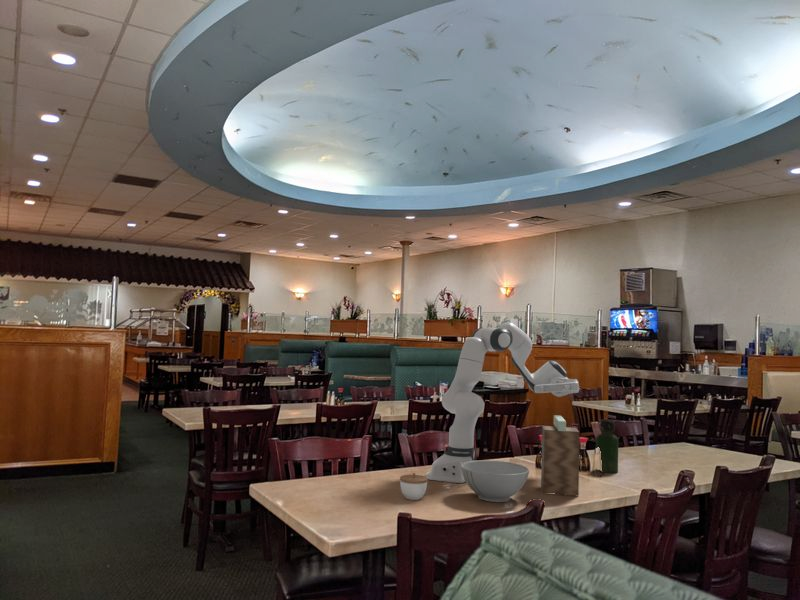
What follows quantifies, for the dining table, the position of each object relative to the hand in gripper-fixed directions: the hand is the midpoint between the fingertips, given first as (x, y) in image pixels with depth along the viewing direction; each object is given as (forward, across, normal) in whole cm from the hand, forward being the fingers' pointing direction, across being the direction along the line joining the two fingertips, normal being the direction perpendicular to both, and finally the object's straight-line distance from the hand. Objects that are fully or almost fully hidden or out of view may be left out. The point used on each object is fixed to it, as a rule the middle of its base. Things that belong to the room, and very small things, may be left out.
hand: (553, 388), depth 276 cm
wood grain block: (+17, +1, +42) cm, 45 cm away
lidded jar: (+60, -47, +36) cm, 84 cm away
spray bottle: (-40, +13, +44) cm, 60 cm away
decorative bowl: (+43, -20, +40) cm, 62 cm away
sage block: (+14, +3, +16) cm, 22 cm away
